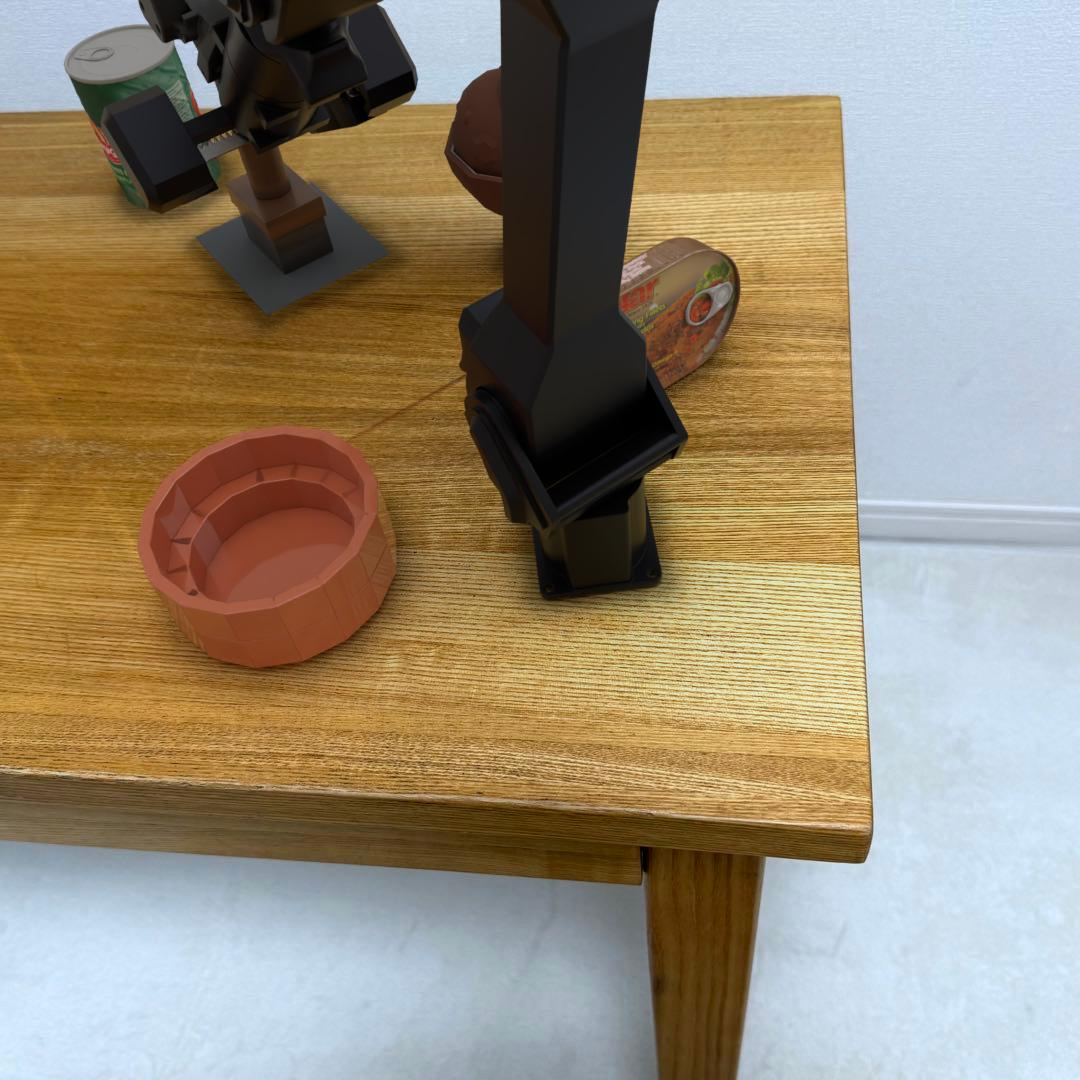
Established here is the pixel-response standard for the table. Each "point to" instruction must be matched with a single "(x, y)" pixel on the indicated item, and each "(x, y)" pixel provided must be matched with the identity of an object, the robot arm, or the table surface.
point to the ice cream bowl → (479, 140)
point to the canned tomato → (129, 82)
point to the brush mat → (281, 289)
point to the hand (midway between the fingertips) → (253, 151)
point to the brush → (279, 210)
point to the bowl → (269, 545)
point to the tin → (680, 303)
